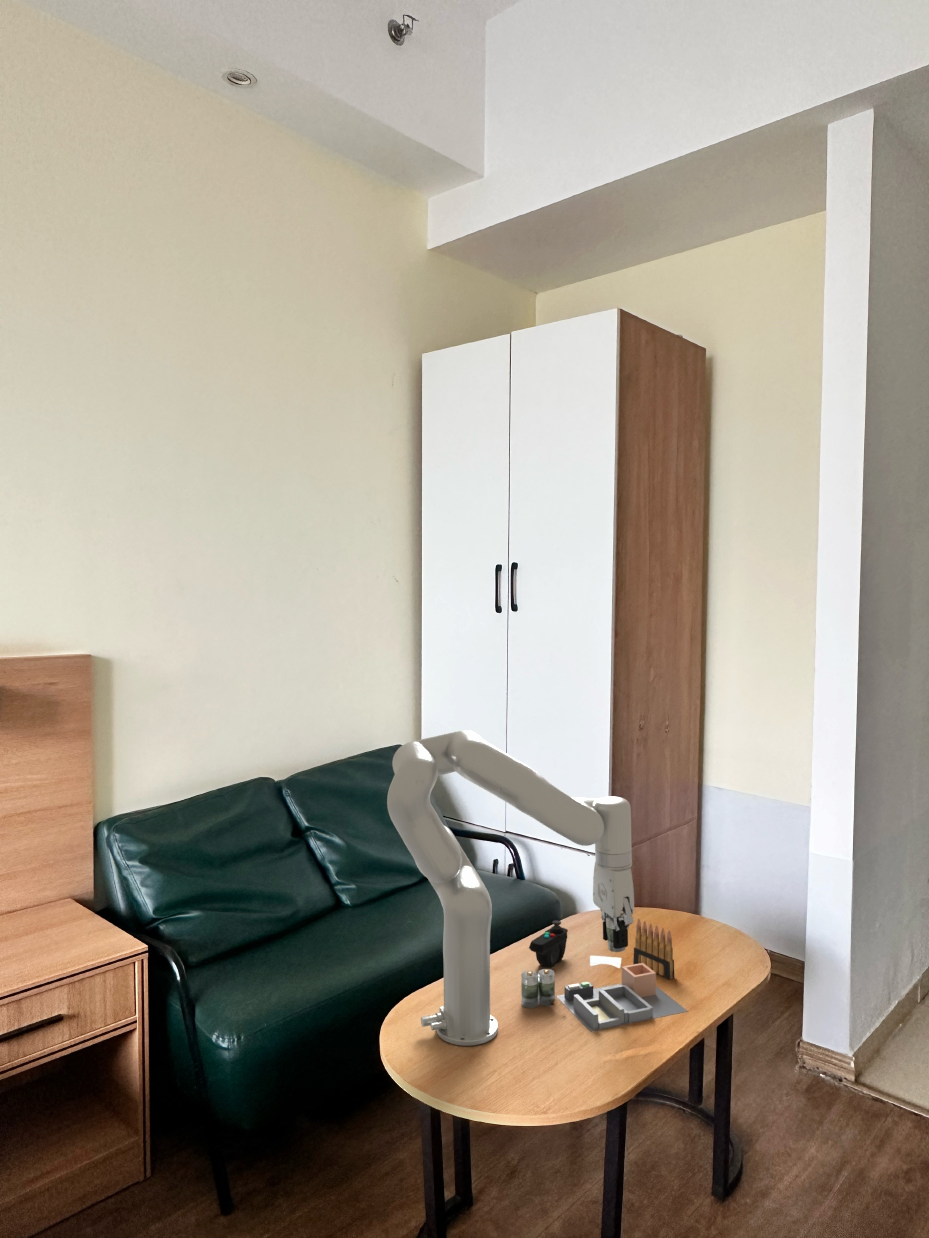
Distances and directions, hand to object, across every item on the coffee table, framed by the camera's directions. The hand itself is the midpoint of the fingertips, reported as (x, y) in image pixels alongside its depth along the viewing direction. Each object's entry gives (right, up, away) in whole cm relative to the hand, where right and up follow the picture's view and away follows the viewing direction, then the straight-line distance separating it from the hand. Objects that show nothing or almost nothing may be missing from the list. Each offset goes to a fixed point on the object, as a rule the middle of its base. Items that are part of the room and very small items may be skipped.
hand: (615, 942), depth 186 cm
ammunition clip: (+12, -15, +20) cm, 28 cm away
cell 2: (-14, -16, +7) cm, 22 cm away
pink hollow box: (+7, -14, +10) cm, 19 cm away
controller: (-12, -15, +24) cm, 30 cm away
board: (+2, -16, +4) cm, 16 cm away
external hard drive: (+1, -15, +21) cm, 26 cm away
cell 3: (0, -1, 0) cm, 1 cm away
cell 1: (-17, -16, +6) cm, 24 cm away
